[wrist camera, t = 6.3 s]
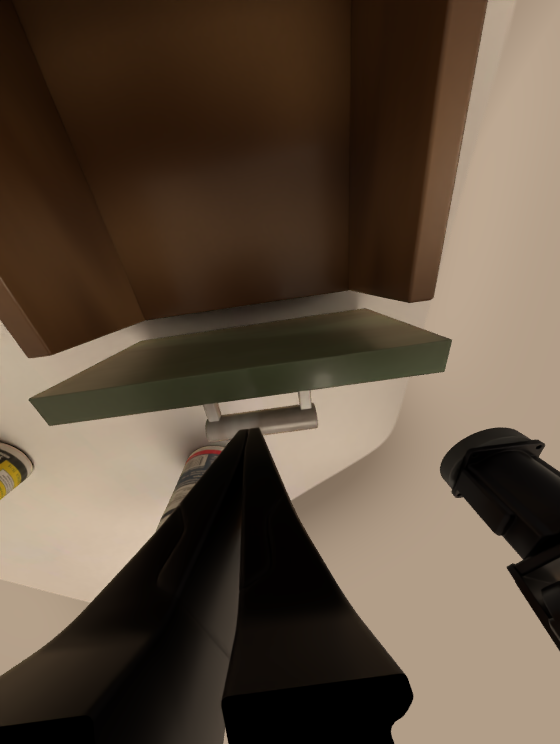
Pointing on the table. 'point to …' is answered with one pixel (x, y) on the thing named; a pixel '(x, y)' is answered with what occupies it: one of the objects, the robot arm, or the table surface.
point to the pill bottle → (191, 476)
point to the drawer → (227, 191)
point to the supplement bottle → (12, 468)
